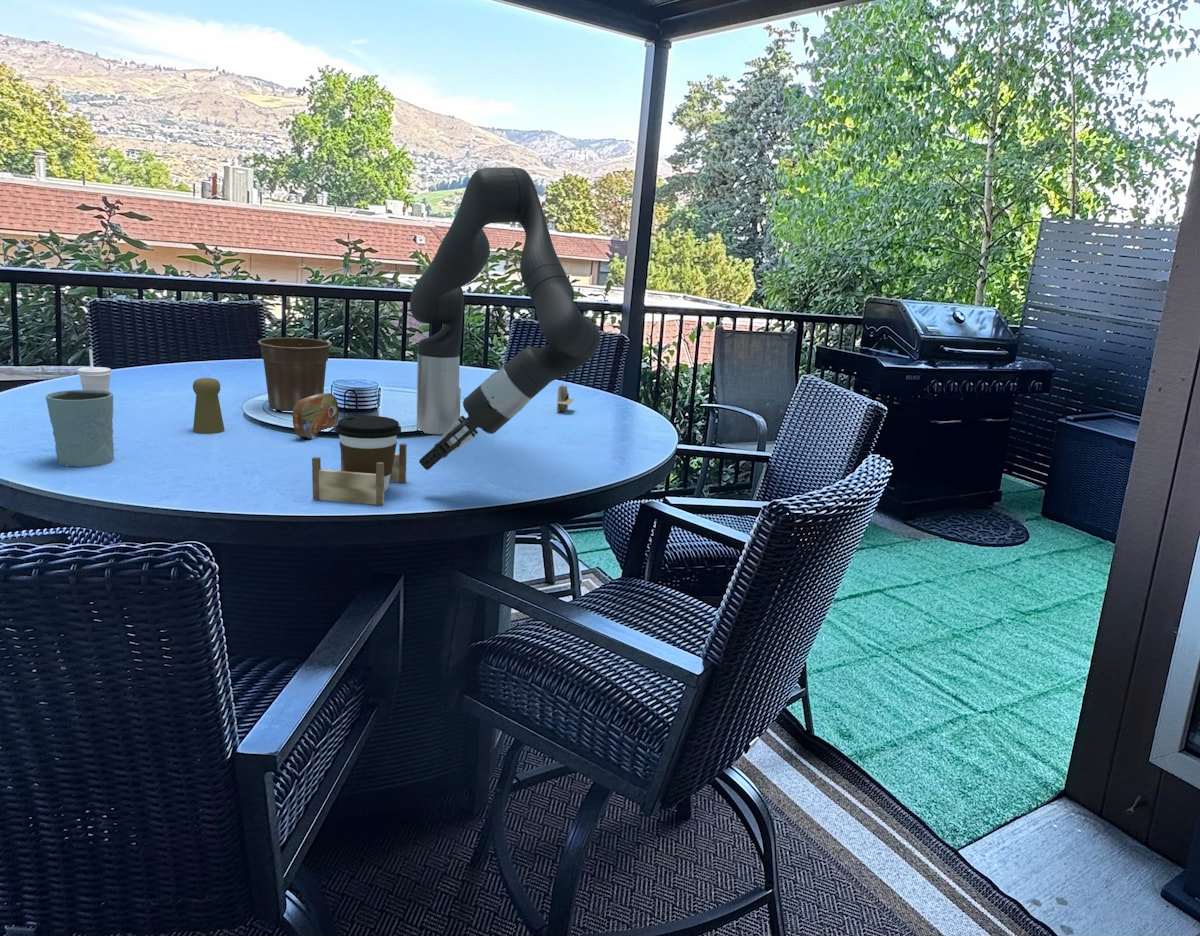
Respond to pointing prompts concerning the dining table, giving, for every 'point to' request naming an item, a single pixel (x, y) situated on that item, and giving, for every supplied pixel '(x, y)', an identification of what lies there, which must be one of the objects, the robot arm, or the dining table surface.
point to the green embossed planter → (82, 426)
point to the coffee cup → (368, 443)
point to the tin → (315, 414)
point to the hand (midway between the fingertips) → (423, 465)
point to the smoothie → (94, 376)
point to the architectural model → (563, 399)
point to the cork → (207, 407)
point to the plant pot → (293, 369)
